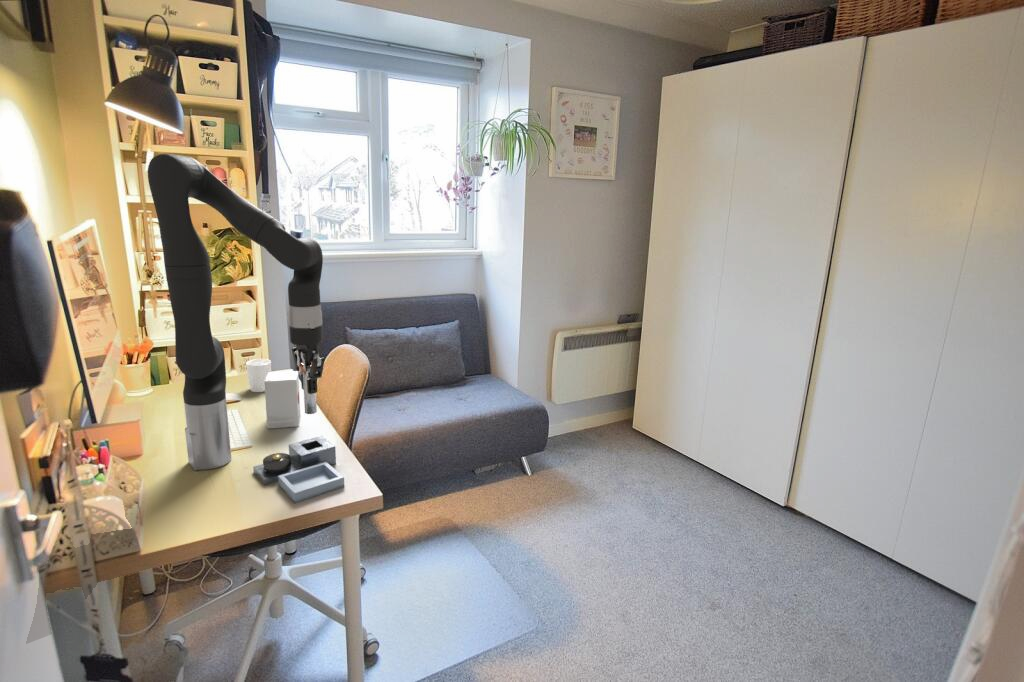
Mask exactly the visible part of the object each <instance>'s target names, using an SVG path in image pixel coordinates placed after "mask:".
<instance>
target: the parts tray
mask: <svg viewBox="0 0 1024 682" xmlns="http://www.w3.org/2000/svg"><path fill="white" fill-rule="evenodd" d="M277 482H278V486H279V487H280V488H281V489H282V490H283V491H284V493H285V494H286V495H287V496H288V497H289V498H290V500H292V501H293V502H294V503H295V504H296V503H300V502H303V501H306V500H309V499H311V498H314V497H317V496H320V495H323V494H326V493H329V492H332V491H335V490H338V489H341V488H344V487H345V477H344V476H343V474H341V473H340V472H339V471H338V470H336V468H334V467H333V465H329V464H328V463H327V462H323V463H320V464H317V465H313V466H310V467H307V468H303V469H300V470H296V471H293V472H290V473H286V474H283V475H279V476H278V481H277Z"/></svg>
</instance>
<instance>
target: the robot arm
mask: <svg viewBox="0 0 1024 682" xmlns="http://www.w3.org/2000/svg"><path fill="white" fill-rule="evenodd" d="M147 180H148V186H149V189H150V193H151V196H152V197H151V198H152V202H153V205H154V208H155V209H154V210H155V212H156V213H155V214H156V217H157V222H158V228H159V234H160V240H161V247H162V253H163V263H164V270H165V276H166V277H165V278H166V283H167V288H168V294H169V295H168V296H169V301H170V306H171V310H172V314H173V321H174V333H175V334H174V337H175V338H174V339H175V350H174V351H175V364H176V366H177V368H178V369H179V370H180V372H181V373H182V374H183V375H184V386H183V391H182V395H183V403H184V404H183V405H184V406H183V407H184V413H185V414H184V415H185V421H186V422H185V423H186V424H185V425H186V427H185V428H184V433H185V442H186V443H185V444H186V453H187V459H188V463H189V465H190V466H191V468H192V469H193V471H199V470H200V471H201V470H212V469H218V468H220V467H223V466H224V465H227V464H228V463H229V462H230V461H231V460H232V449H231V441H230V429H229V428H230V427H229V417H228V407H227V395H226V388H227V387H226V386H227V374H226V373H227V371H226V356H225V350H224V346H223V344H222V343H221V342H220V340H219V339H218V338H216V337H214V336H213V334H212V329H211V321H210V320H211V319H210V316H211V315H210V314H211V307H212V297H213V277H212V276H213V275H212V267H211V260H210V256H209V253H208V250H207V248H206V246H205V244H204V242H203V241H202V239H201V237H200V235H199V233H198V232H197V230H196V228H195V226H194V224H193V221H192V216H191V212H190V211H191V210H190V203H189V198H193V199H195V200H198V201H200V202H201V203H204V204H206V205H208V206H210V207H211V208H212V209H214V210H215V211H217V212H218V213H219V214H221V215H222V216H223V217H224V219H226V221H227V222H228V223H229V224H230V226H232V228H234V230H235V229H236V231H238V233H240V234H241V235H243V236H245V237H247V238H248V240H249V239H250V240H251V241H253V242H254V243H256V244H258V245H259V246H261V247H263V248H264V249H265V250H266V251H267V252H268V253H269V254H270V255H271V256H272V257H274V259H276V260H277V262H279V263H280V264H282V265H283V266H285V267H286V268H288V269H291V270H293V276H292V279H291V280H290V281H289V282H288V286H287V297H288V327H289V328H288V331H289V332H288V333H289V342H290V343H291V344H292V345H295V347H291V352H292V356H293V361H294V366H295V371H298V375H299V376H300V379H301V380H300V382H301V383H300V385H301V390H303V391H304V387H303V372H301V371H300V365H303V368H304V370H306V376H307V392H308V393H309V394H313V393H316V394H317V393H318V380H317V379H320V378H321V379H322V375H323V370H324V366H325V357H320V354H319V349H318V345H319V344H321V343H323V342H324V329H323V328H324V325H323V310H322V306H321V291H320V283H321V279H322V273H323V272H322V270H323V263H324V261H323V259H324V258H323V251H322V248H321V245H320V244H319V243H318V242H317V240H316V239H314V238H311V237H307V236H306V237H305V236H304V237H300V238H298V237H295V236H293V235H292V234H290V233H289V232H288V231H286V227H285V225H284V224H283V223H282V222H281V221H279V220H278V219H276V218H275V217H274V216H272V215H270V214H269V213H267V212H265V211H264V210H262V209H260V208H259V207H257V206H255V205H254V203H253V204H252V203H251V201H248V200H247V199H245V198H243V196H241V195H239V194H238V193H237V192H235V191H234V190H233V189H232V188H230V187H229V186H227V185H226V184H225V183H224V182H223V181H222V180H220V179H219V178H218V177H217V176H216V175H215V174H214V173H212V172H211V170H209V169H208V168H207V167H206V166H204V165H203V164H202V163H201V162H199V161H198V160H197V159H195V158H193V157H191V156H188V155H187V156H186V155H182V154H172V153H159V154H156V155H155V156H153V157H152V159H150V161H149V164H148V167H147ZM308 365H311V366H308ZM310 370H311V371H310Z"/></svg>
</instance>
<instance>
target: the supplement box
mask: <svg viewBox="0 0 1024 682" xmlns="http://www.w3.org/2000/svg"><path fill="white" fill-rule="evenodd" d="M264 383H265V391H264V397H265V410H266V413H265V415H266V427H267V429H279V428H294V427H296V428H297V427H299V426H300V422H301V421H300V420H301V396H300V381H299V371H297V370H292V371H291V370H290V371H273V372H272V371H271V372H268V374H267V376H266V379H265V382H264Z"/></svg>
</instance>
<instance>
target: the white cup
mask: <svg viewBox="0 0 1024 682" xmlns="http://www.w3.org/2000/svg"><path fill="white" fill-rule="evenodd" d="M245 365H246V366H245V367H246V372H247V373H246V374H247V380H248V385H249V391H250V392H252V393H263V392H264V393H265V383H264V382H265V379H266V376H267V374H268V372H272V361H271V360H270V359H268V358H255V359H251V360H248V361H246V363H245Z"/></svg>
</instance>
